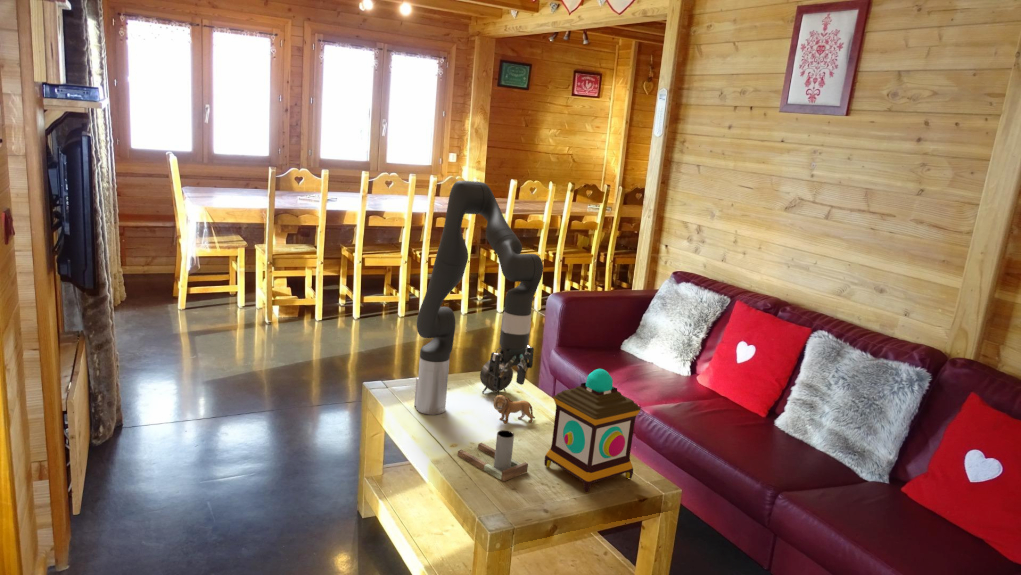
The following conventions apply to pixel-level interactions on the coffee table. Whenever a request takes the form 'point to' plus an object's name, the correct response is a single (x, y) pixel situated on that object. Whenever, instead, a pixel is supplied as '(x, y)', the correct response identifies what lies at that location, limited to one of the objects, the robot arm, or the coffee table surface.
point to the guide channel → (504, 475)
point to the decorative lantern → (593, 430)
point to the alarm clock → (489, 379)
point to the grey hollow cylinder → (503, 450)
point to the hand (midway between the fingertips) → (508, 386)
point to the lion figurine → (512, 408)
